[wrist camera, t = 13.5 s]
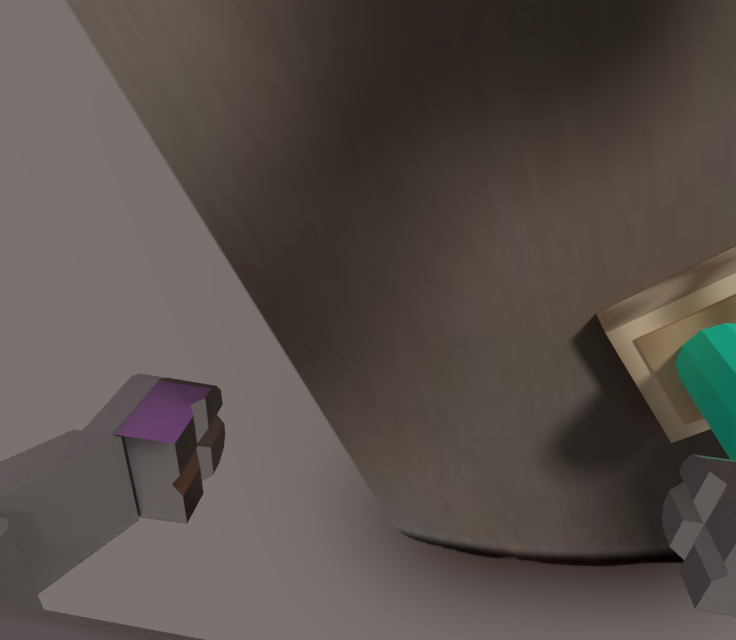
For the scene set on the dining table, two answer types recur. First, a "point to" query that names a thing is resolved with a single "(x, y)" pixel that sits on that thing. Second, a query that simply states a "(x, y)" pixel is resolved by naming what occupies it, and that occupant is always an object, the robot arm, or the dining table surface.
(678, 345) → the base block
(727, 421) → the candle
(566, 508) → the dining table surface
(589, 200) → the dining table surface
